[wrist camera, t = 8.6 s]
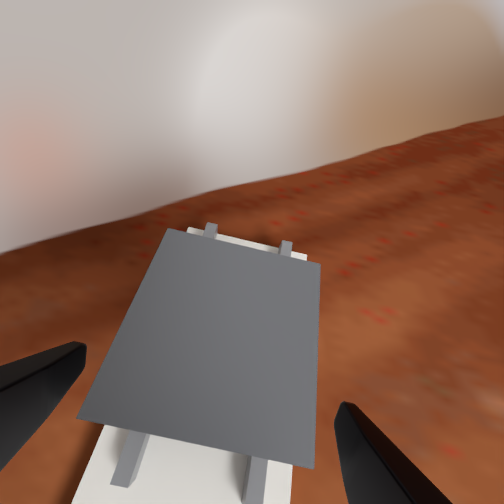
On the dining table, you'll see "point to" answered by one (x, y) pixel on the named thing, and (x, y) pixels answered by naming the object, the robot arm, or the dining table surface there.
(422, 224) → the dining table surface
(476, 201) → the dining table surface
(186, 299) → the fader tab
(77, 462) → the dining table surface
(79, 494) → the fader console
